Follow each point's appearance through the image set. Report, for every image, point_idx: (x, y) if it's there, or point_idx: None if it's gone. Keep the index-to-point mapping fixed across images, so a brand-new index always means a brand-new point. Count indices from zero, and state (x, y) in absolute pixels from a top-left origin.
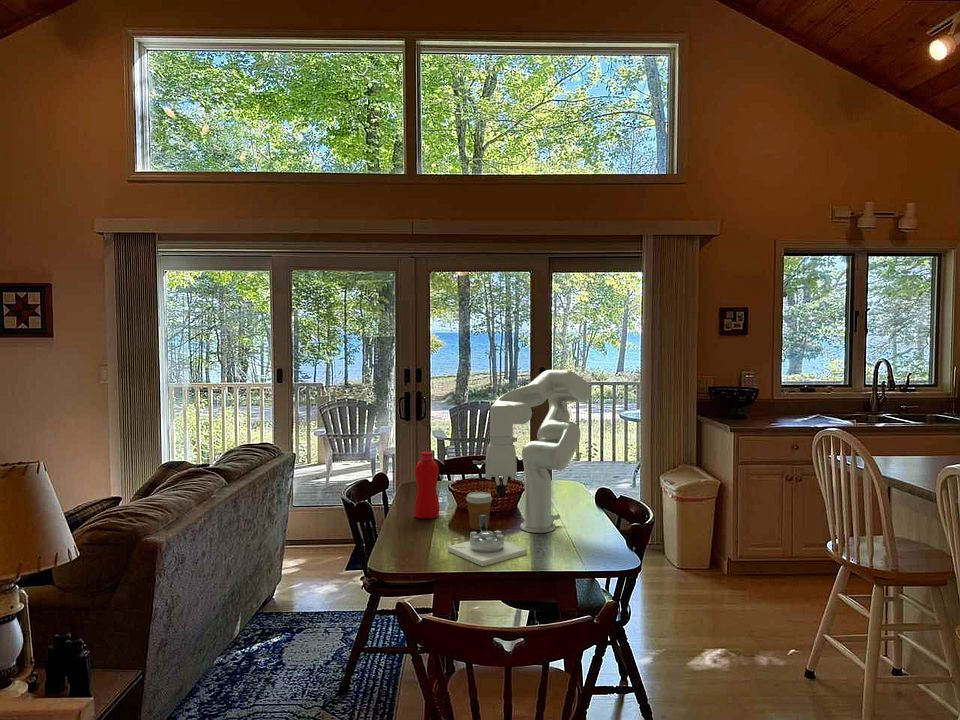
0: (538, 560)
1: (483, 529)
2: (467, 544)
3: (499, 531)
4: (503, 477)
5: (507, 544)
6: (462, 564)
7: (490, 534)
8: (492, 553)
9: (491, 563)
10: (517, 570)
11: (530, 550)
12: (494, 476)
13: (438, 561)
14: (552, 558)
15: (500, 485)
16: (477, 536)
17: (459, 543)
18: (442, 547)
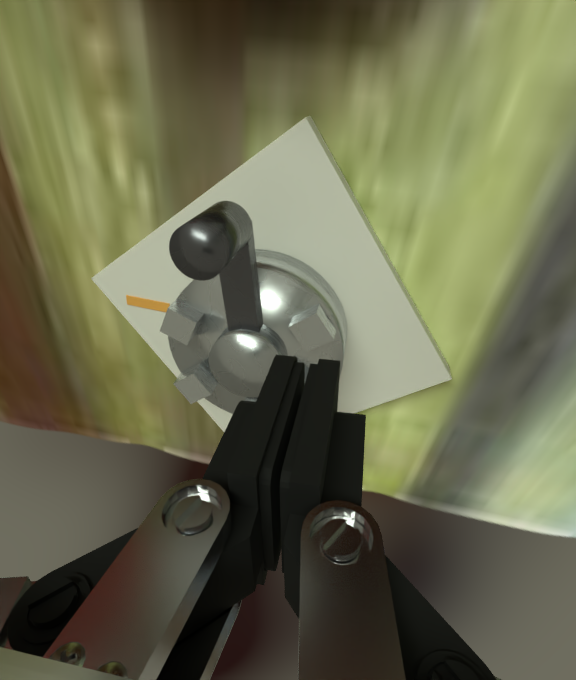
0: (469, 438)
1: (230, 268)
2: (174, 267)
3: (321, 334)
4: (309, 667)
5: (374, 300)
6: (180, 411)
7: None
8: None
9: None
10: None
11: (488, 326)
12: (76, 647)
13: (97, 370)
14: (543, 433)
15: (261, 583)
16: (199, 387)
17: (135, 245)
18: (69, 216)
